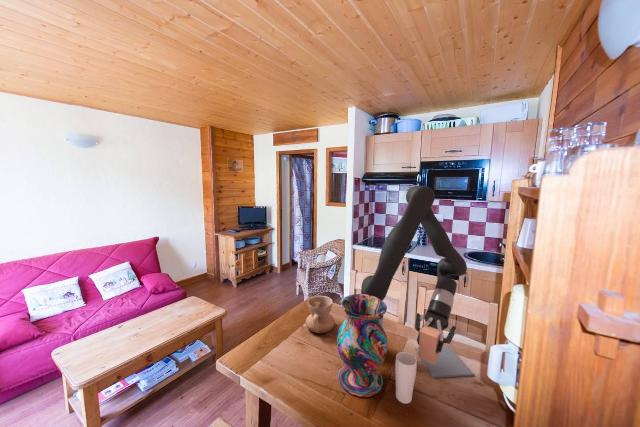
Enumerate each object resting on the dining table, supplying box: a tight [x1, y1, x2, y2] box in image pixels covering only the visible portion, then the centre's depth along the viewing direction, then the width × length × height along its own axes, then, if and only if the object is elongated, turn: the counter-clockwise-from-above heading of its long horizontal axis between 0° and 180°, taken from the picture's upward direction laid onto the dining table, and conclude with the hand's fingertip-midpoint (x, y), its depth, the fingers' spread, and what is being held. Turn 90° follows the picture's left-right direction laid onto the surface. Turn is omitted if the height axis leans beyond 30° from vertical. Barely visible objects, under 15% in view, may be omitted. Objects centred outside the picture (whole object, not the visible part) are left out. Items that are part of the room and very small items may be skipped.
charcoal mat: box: [414, 346, 475, 379], centre depth 104 cm, size 16×16×1 cm
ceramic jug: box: [305, 295, 335, 334], centre depth 126 cm, size 18×14×14 cm
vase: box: [336, 293, 389, 398], centre depth 93 cm, size 18×18×30 cm
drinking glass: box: [394, 351, 418, 405], centre depth 86 cm, size 7×7×15 cm
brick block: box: [417, 326, 440, 365], centre depth 90 cm, size 6×6×10 cm
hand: (427, 348), depth 88 cm, fingers closed on brick block, 5 cm apart
